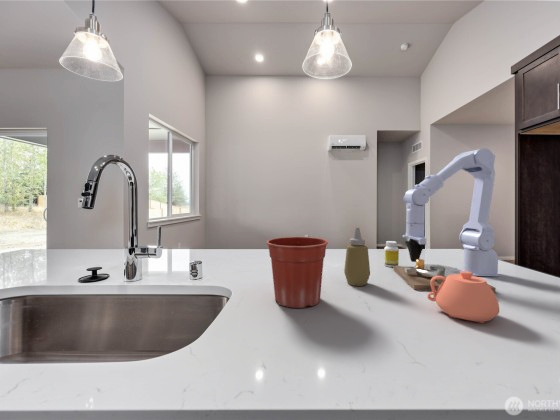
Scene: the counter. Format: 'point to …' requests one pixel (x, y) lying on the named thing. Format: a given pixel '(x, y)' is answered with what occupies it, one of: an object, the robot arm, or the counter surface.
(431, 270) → the silver rounded shallow piece
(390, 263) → the supplement bottle
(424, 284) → the post board
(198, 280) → the counter surface
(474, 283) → the sugar bowl
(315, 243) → the flower pot
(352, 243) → the squeeze bottle
